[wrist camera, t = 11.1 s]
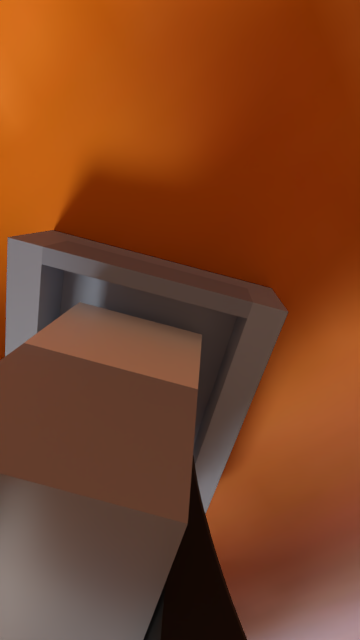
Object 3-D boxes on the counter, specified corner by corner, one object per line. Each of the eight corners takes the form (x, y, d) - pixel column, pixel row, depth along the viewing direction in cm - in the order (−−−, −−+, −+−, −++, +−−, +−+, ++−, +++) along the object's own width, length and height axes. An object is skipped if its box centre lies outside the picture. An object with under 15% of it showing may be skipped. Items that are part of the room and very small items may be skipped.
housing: (201, 334, 9) (187, 523, 4) (151, 504, 12) (101, 749, 7) (79, 301, 9) (-113, 442, 4) (58, 479, 12) (-68, 703, 7)
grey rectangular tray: (192, 498, 15) (189, 554, 12) (35, 456, 15) (1, 503, 12) (271, 288, 11) (288, 311, 8) (52, 230, 11) (7, 237, 8)
